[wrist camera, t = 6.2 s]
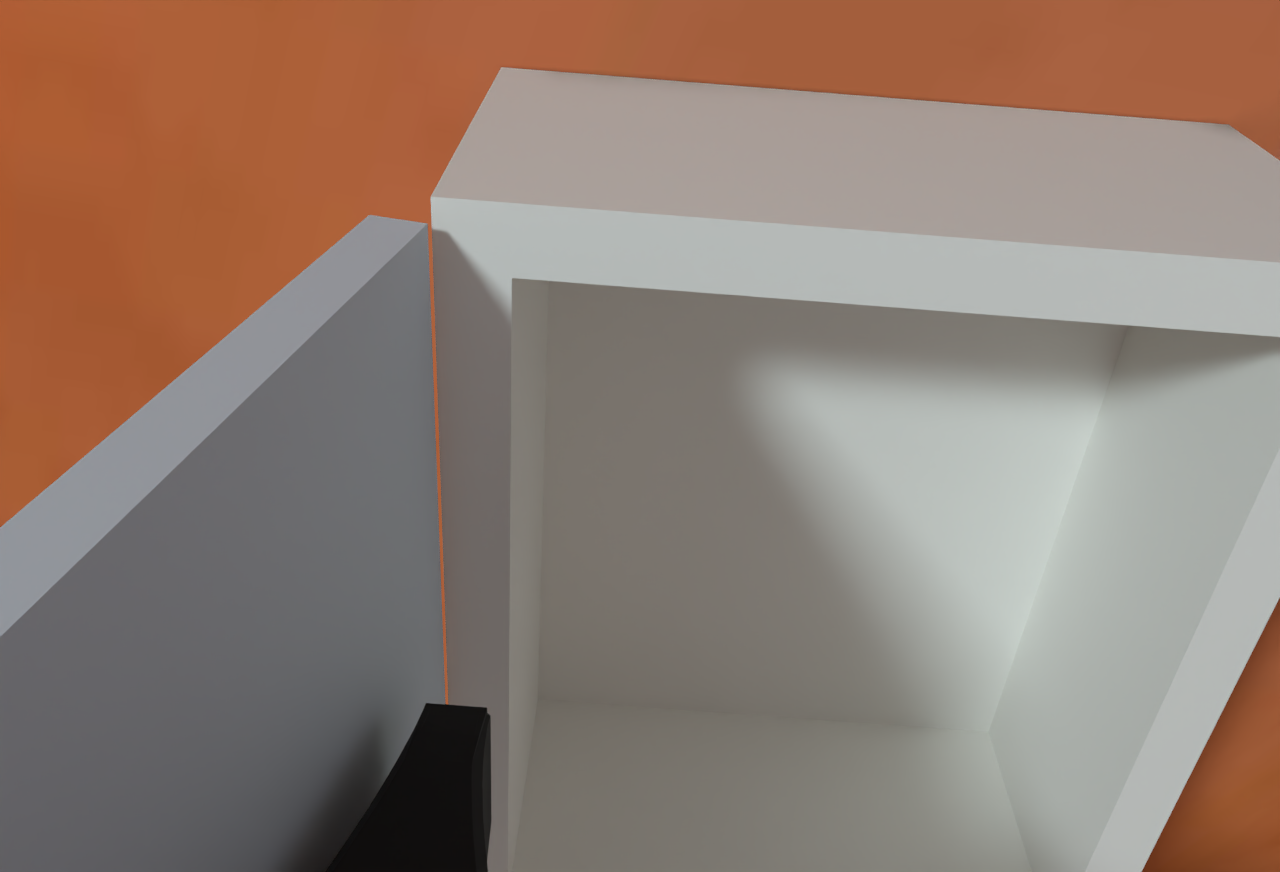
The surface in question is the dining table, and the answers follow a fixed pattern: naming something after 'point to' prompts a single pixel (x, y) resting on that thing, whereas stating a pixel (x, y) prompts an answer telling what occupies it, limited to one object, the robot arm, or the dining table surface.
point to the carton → (849, 472)
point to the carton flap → (235, 592)
